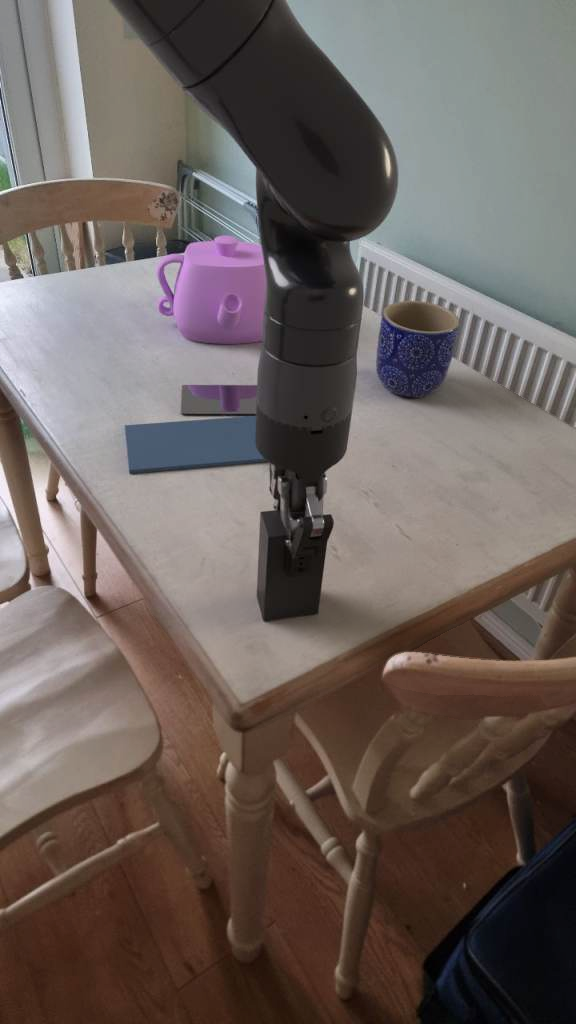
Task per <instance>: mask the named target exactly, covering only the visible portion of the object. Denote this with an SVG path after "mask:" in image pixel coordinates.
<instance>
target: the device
mask: <svg viewBox="0 0 576 1024" xmlns="http://www.w3.org/2000/svg"><path fill="white" fill-rule="evenodd" d="M290 513H301V512H293V511H290ZM296 529H297V528H295V533H296ZM258 536H259V537H258V556H257V557H258V558H257V581H256V599H257V602H258V607H259V610H260V612H261V618H262V620H263V622H268V621H276V620H283V619H292V618H298V617H306V616H314V615H318V614H319V611H320V610H319V609H320V602H321V593H322V585H323V579H324V578H323V577H324V571H325V563H326V556H327V555H326V554H327V547H328V543H327V544H326V546H325V548H324V551H323V553H322V555H321V556H311V560H310V569H309V573H308V574H306V575H303V576H295V577H287V576H286V574H285V571H284V564H285V551H286V544H285V540H286V528H285V527H284V525H283V523H282V521H281V510H274V509H273V510H264V511H260V513H259V535H258Z"/></svg>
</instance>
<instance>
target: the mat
mask: <svg viewBox="0 0 576 1024" xmlns="http://www.w3.org/2000/svg"><path fill="white" fill-rule="evenodd" d="M124 432H125V442H126V452H127V453H126V454H127V460H128V461H127V463H128V473H129V474H130V475H132V474H144V473H154V472H167V471H168V472H169V471H178V470H190V469H200V468H213V467H225V466H234V465H235V466H236V465H245V464H258V463H260V464H261V463H269V462H268V461H267V460H265V459H264V458H263V457H262V456H261V455H260V453H259V452H258V450H257V447H256V443H255V434H256V415H249V416H234V417H219V418H207V419H195V420H194V419H193V420H181V421H166V422H151V423H137V424H126V425H124Z"/></svg>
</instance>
